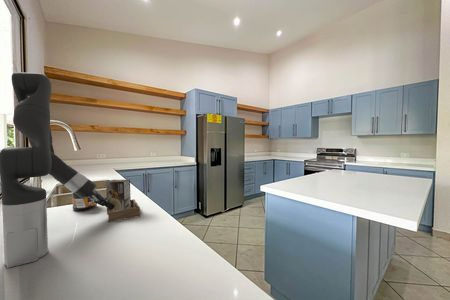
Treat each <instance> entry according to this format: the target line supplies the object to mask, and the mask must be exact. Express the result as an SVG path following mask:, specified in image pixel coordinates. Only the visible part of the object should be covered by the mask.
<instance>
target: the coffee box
mask: <svg viewBox="0 0 450 300" xmlns="http://www.w3.org/2000/svg"><path fill="white" fill-rule="evenodd" d="M105 185H106V186H105V187H106V188H105V189H106V190H105V191H106V192H105V193H106V198H107V200H108V201H109V202H110V203H112V204H113V205H114V206H115V207H114V208H113V209H112V210H110V209H109V208H107V207H106V215H108V213H109V212H115V211H120V210H126V209H132V207H131V200H132V199H131V179H110V180H108V181H106V182H105Z"/></svg>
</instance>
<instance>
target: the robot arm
mask: <svg viewBox="0 0 450 300" xmlns="http://www.w3.org/2000/svg"><path fill="white" fill-rule="evenodd" d="M11 85H12V88H13V91H14V94H15V98H16V100H17V103H18V104H16V106H15V108H14V109H13V110H14V111H13V117H12V122H13V125H14V127H15V129H16V130H17V131H18V132H20V133H21V134H22V136H25V137H26V138H27V139H28V142H29V144H30V146H25V147H24V146H19V147H18V146H17V147H15V146H14V147H11V146H10V147H4V148H2V149H1V150H0V187H1V188H0V190H1V207H2V214H1V215H2V240H3V242H2V243H3V256H4V257H3V259H4V260H3V262H4V263H3V264H4V265H5V266H6V269H7V268H8V269H9V268H12V267H16V266H20V265H21V266H22V265H26V264H28V263H33V262H37V261H39V259H40V258H42V257H44V256H45V255H47V253H48V251H49V243H48V240H49V237H48V236H49V235H48V209H47V206H48V204H47V190H46V189H45V188H42V187H38V186H31V185H27V184H24V183H21V182H20V181H19V179H30V178H31V179H33V178H39V177H45V176H46V177H47V176H48V175H50V176H52V177H53V178H54V180H56V181H57V182H58V183H60V184H61V185H63V186H64V187H65V188H67V189H68V190H69V191H70V192H71V193H75V194H76V195H78V196H79V197H81V198H85V197H86V196H89V197H90V199H91V200H92V201H94V203H97V205H99V206H102V207H105V208H106V209H107V208H109V209H110V210H112V209H113V208H114V207H115V206H114V205H113V204H112V203H110V202H109V201H108V200H107V196H105V195H103V194H102V193H101V191H99V190H96V187H97V184H96V183H94V182H93V181H92V180H91V179H90V178H88V177H86V176H85V175H83V174H82V173H80V172H78V171H77V170H76V169H74V168H73V167H71V166H70V165H68V164H67V163H66V162H65V161H63V160H62V159H61V158H60V157H59V156H58V155H57V154H55V150H54V146H53V135H52V130H51V110H50V103H51V102H50V101H51V96H52V83H51V80H50V78H49V77H48V76H47V75H46V74H44V73H40V72H24V71H23V72H19V71H16V72H12V74H11ZM94 188H95V190H96V191H95V190H94Z"/></svg>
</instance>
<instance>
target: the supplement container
mask: <svg viewBox="0 0 450 300" xmlns="http://www.w3.org/2000/svg"><path fill="white" fill-rule="evenodd" d="M94 190H95V191H97V190H96V187H95V188H94ZM71 195H72V210H73V211H75V212H83V211H84V212H85V211H89V210H90V211H91V210H92V209H95V208H96V207H97V205H98V204H97V203H94V201H92V200H91V199H90V197H89V196H86V197H85V198H81V197H79V196H78V195H76V194H75V193H73V192H71Z"/></svg>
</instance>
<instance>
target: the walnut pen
mask: <svg viewBox="0 0 450 300" xmlns="http://www.w3.org/2000/svg"><path fill="white" fill-rule="evenodd" d="M140 209H141V208H140V206H139V204H138V202H137V201H136V199H131V209H126V210H120V211H115V212H109V213H108V216H107V220H108V221H107V222H108V223H112V222H116V221H121V220H126V219H132V218H137V217H140V216H141V210H140Z"/></svg>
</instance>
